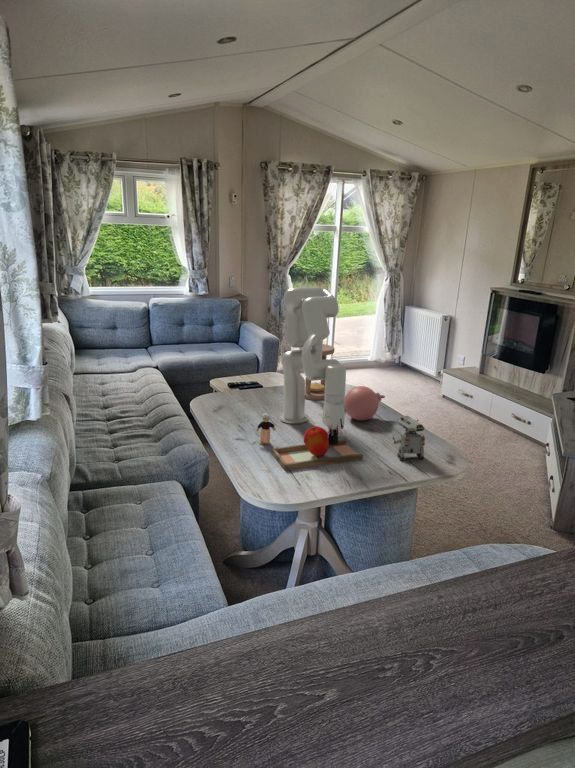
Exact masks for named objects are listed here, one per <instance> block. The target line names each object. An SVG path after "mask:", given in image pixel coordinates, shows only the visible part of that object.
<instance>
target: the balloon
mask: <svg viewBox="0 0 575 768" xmlns="http://www.w3.org/2000/svg"><path fill="white" fill-rule="evenodd" d="M385 398H386V396H385V395H383V394H381V393H379V392H375V391H374V390H373V389H372V388H370V387H367V386H364V385H359V386H355V387H352V388H351V389H349V390H348V392H347V393H345V402H344V411H345V413H346V414H347V415H348V416H349V417H350V418H351V419H353V420H356V421H367V420H369V419H371V418H373V417H374V416H375V415H376V414H377V412H378V409H379V405H380V402H381V401H382V399H385Z"/></svg>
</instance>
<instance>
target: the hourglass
mask: <svg viewBox="0 0 575 768" xmlns="http://www.w3.org/2000/svg"><path fill="white" fill-rule="evenodd" d="M302 349H303V347H301V348H298V350H302ZM335 349H336V348H335V347H334V346H333V345H330V344H323V348H322V360H327V356H329V355H333V354H334V353H335ZM304 380H305V400H310V401H324V399H325V380H320V383H319V382H316V381H315V382H312V381H311V380H309V379H307V377H306V376H305V379H304Z"/></svg>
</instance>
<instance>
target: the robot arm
mask: <svg viewBox="0 0 575 768" xmlns="http://www.w3.org/2000/svg"><path fill="white" fill-rule="evenodd" d="M283 305H284V310H285V314H286V324H285V325H286V328H285V329H286V331H285V332H286V333H285V337H286V338H285V339H286V341H285V342H286V345H287V346H288V347H290V348H293V349H294V350H293V349H292V350H288V351H285V352H284V353H283V354H282V356H281V365H282V371H283V407H282V408H283V409H282V411H283V412H282V413H281V414H280V415H279V420H280V421H281V422H283V423H285V424H290V425H291V424H294V425H297V424H304V423H306V422H307V421H308V419H309V416H308V415H307V414H305V413H306V412H305V410H306V409H305V408H306V399H305V387H306V382H305V380H306V379H305V378H306V377H307V379H309V380H311V382H312V381H313V382H314V381H315V382H316V381H321V380H325V399H324V400H323V401H324V402H323V406H322V407H323V408H322V417H321V418H322V419H321V420H322V424H323V425H324V426H326V427H327V433H328V439H329V444H330V445H336V444H338V440H339V435H340V434H342V430H344V427H345V407H344V402H345V396H346V381H347V379H346V378H347V368H346V366H345V365H344V364H341V362H340V361H339V360H337V359H336V358H335V359H334V358H331V359H326V360H322V348H323V343H324V340H326V339H327V338H328V337H329V335H330V333H331V332H330V328H329V327H330V326H329V323H328V320H327V319H329V318H335V317H337V316H338V315H339V312H340V311H339V310H340V307H339V303H338V300H337V299H336V297H335V295H333V294H332V293H331V292H330V291H329V290H328V289H326V288H325V287H321V286H303V287H302V286H299V287H291V288H288V289H286V291H285V292H284V294H283ZM301 347H303V349H302V350H299V348H301ZM297 348H298V349H297ZM303 372H304V376H305V377H303V376H302V374H301V373H303Z"/></svg>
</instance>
